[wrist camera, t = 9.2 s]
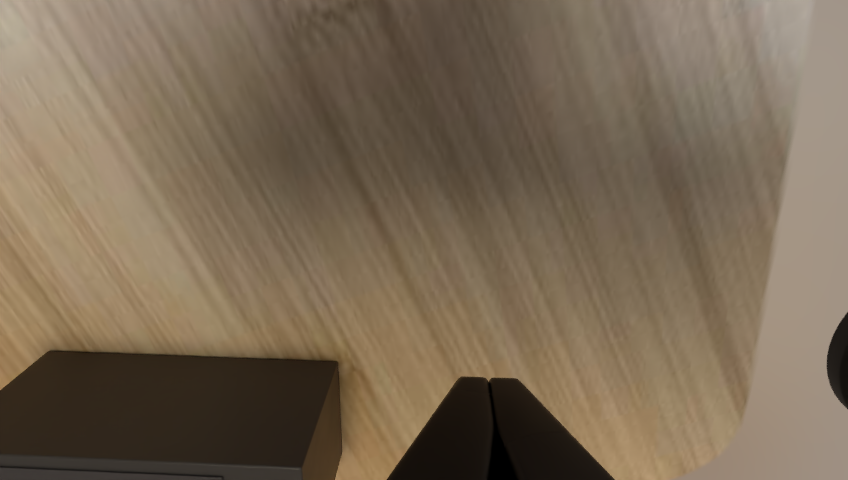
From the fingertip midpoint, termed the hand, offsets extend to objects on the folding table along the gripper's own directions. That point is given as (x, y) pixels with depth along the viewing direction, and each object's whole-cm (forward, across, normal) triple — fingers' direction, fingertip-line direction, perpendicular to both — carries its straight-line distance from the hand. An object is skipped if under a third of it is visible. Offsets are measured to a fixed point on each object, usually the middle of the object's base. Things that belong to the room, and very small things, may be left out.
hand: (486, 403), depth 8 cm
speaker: (+10, +5, +10) cm, 15 cm away
